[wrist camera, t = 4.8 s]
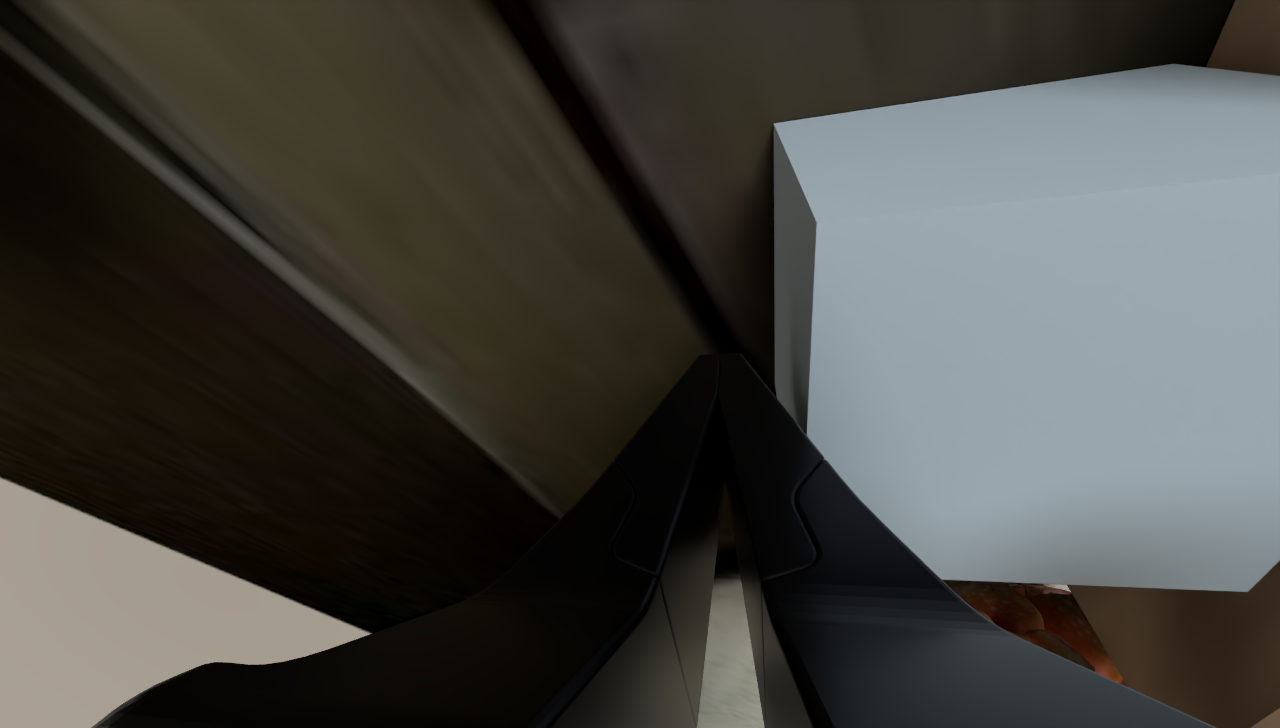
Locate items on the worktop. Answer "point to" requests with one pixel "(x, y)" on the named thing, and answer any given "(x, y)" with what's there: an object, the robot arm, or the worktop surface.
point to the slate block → (1045, 324)
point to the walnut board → (1204, 619)
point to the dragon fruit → (1040, 620)
